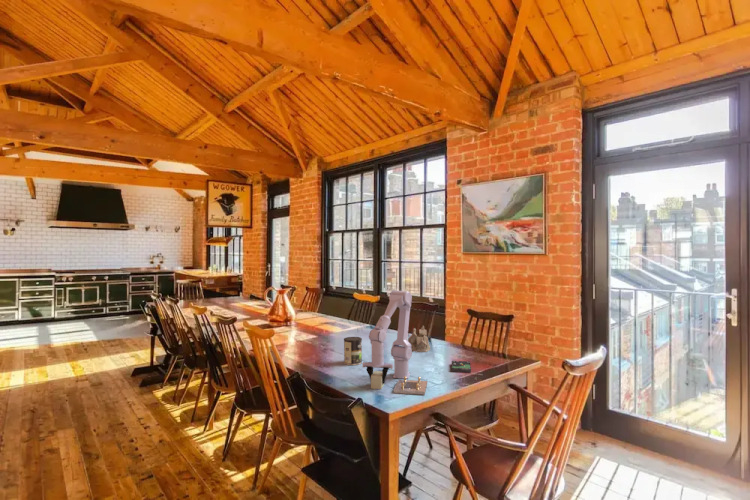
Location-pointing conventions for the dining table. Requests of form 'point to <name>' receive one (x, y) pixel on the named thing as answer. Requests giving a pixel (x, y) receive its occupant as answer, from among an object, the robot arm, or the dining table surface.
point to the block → (377, 380)
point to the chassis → (411, 386)
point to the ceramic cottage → (419, 341)
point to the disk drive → (461, 366)
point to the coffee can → (352, 350)
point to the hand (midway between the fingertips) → (377, 382)
